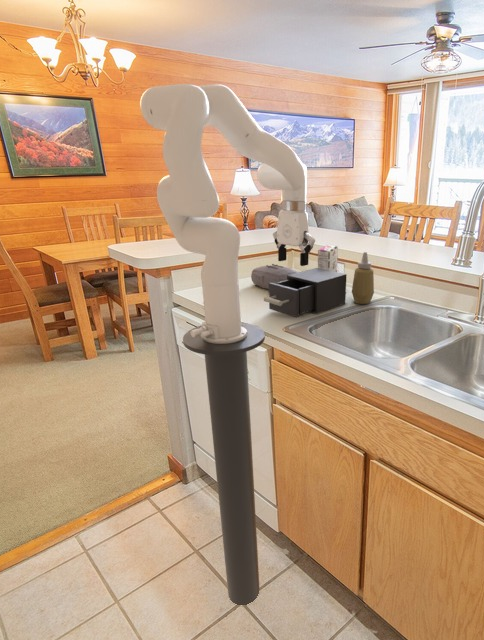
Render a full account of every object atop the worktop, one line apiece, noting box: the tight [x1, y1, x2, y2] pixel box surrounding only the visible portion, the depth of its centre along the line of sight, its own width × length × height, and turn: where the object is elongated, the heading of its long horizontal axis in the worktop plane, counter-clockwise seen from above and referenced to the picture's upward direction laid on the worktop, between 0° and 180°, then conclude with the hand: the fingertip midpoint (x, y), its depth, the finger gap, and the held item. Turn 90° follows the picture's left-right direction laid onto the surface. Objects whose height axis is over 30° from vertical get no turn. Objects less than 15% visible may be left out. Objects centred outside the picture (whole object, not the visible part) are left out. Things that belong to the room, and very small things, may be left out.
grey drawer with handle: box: [263, 279, 315, 318], centre depth 145 cm, size 20×13×9 cm, turn 139°
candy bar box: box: [317, 244, 339, 272], centre depth 171 cm, size 11×5×16 cm, turn 161°
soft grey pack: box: [250, 263, 298, 290], centre depth 175 cm, size 15×8×20 cm
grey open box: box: [287, 267, 348, 315], centre depth 154 cm, size 16×14×11 cm
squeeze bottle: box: [351, 251, 375, 305], centre depth 156 cm, size 8×8×18 cm
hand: (293, 262), depth 140 cm, fingers open, 9 cm apart
